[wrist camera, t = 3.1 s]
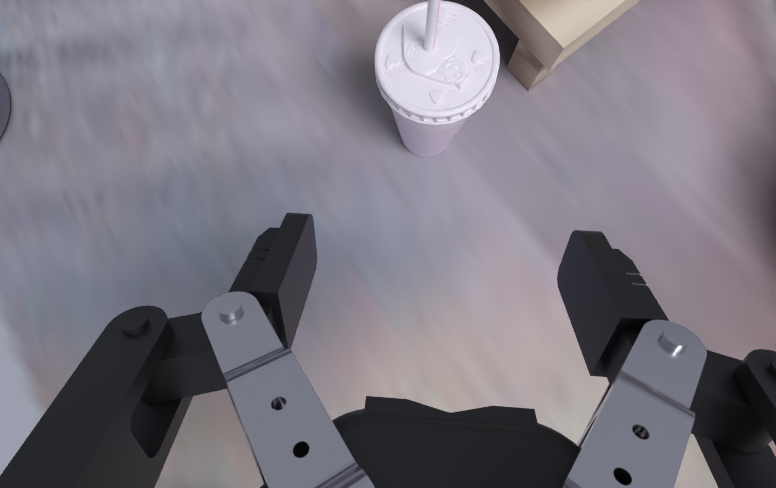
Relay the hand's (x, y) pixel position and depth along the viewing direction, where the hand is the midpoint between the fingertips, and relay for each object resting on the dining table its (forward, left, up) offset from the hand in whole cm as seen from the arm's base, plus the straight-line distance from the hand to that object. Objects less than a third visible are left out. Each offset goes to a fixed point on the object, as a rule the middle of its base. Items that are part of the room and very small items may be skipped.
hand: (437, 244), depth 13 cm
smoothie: (-8, +7, -16) cm, 19 cm away
